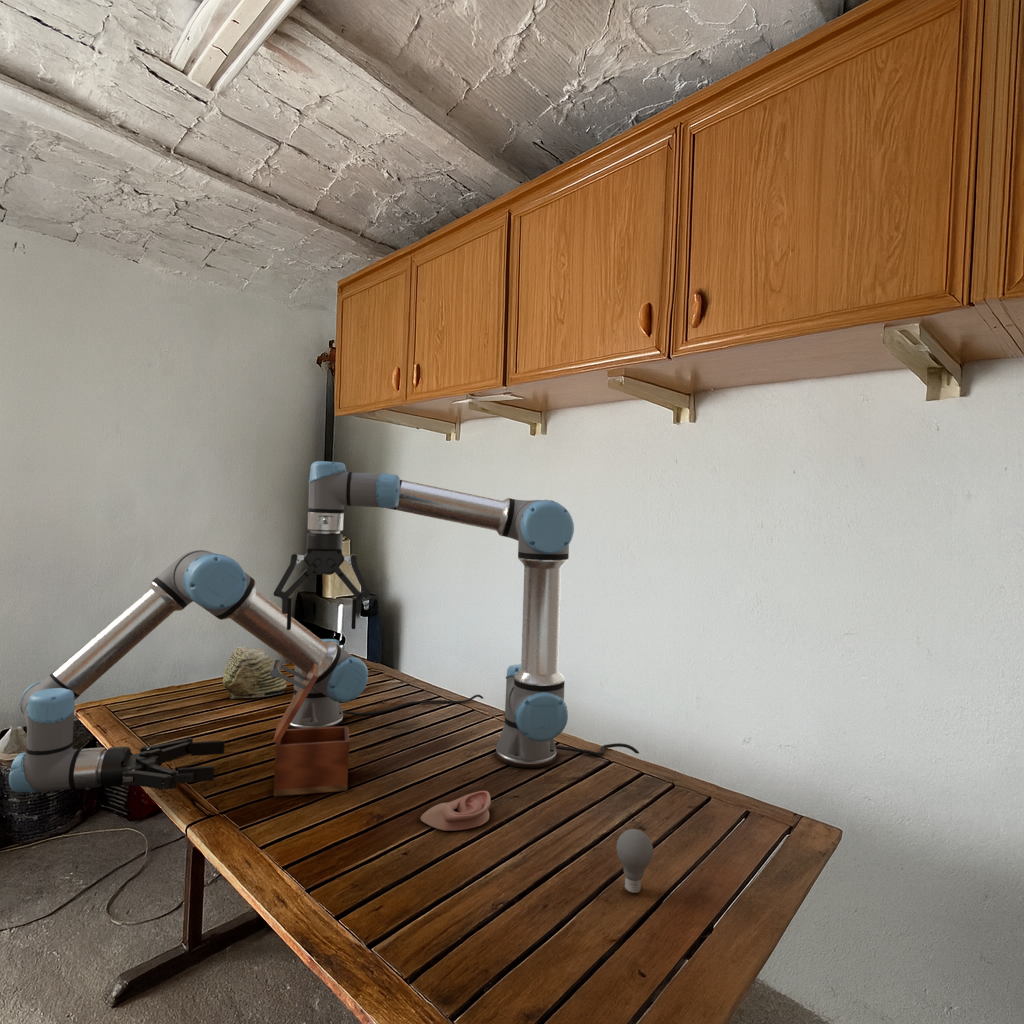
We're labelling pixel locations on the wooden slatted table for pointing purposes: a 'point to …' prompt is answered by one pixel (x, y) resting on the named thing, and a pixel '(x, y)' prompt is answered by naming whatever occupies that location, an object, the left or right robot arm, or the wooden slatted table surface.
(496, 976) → the wooden slatted table surface
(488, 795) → the anatomical model
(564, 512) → the right robot arm
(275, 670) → the lid
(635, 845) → the light bulb
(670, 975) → the wooden slatted table surface
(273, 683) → the fossil
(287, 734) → the chest
